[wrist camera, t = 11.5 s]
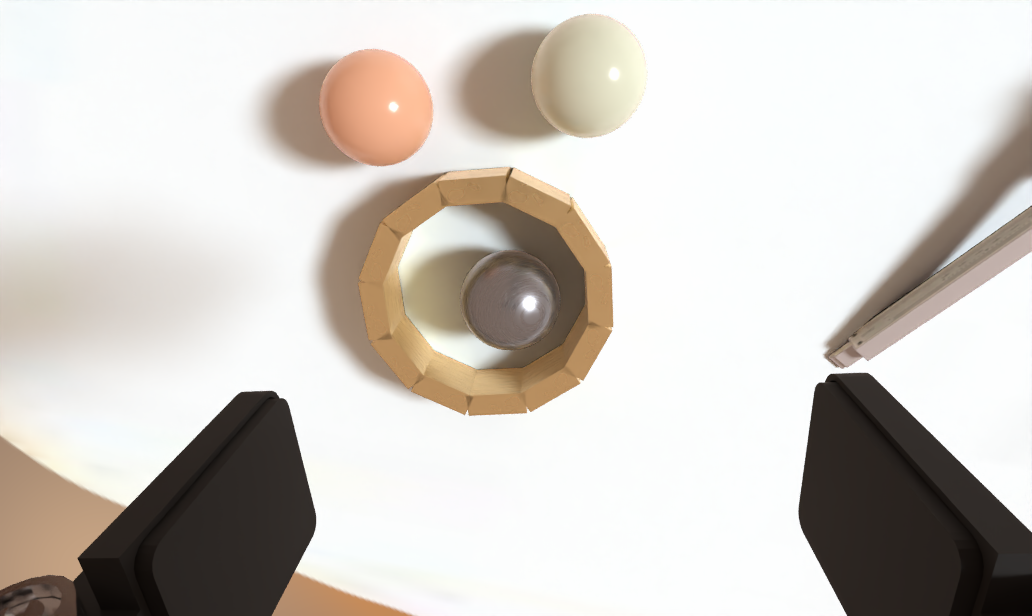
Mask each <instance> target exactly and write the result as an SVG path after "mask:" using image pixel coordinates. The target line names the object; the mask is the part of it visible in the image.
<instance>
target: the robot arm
mask: <svg viewBox="0 0 1032 616" xmlns="http://www.w3.org/2000/svg"><path fill="white" fill-rule="evenodd" d="M799 521H800V525H801V528H802V531H803V533H804V535H805V537H806V539H807V541H808V542H809V544H810V546H811V548H812V550H813V552H814V554H815V556H816V558H817V559H818V561H819V563H820V565H821V567H822V569H823V571H824V573H825V575H826V577H827V578H828V580H829V582H830V584H831V586H832V588H833V590H834V592H835V594H836V595H837V597H838V599H839V601H840V603H841V605H842V607H843V609H844V611H845V612H846V614H847V616H1032V532H1031V531H1030V530H1029V529H1028V528H1027V527H1026V526H1025V525H1023V524H1022V523H1021V522H1020V521H1019V520H1018V519H1017V518H1016V517H1015V516H1014V515H1013V514H1012V513H1011V512H1010V511H1009V510H1008V509H1007V508H1006V507H1005V506H1004V505H1003V504H1002V503H1001V502H1000V501H999V500H998V499H997V498H996V497H995V496H994V495H993V494H992V493H991V492H990V491H989V490H988V489H987V488H986V487H985V486H984V485H983V484H982V483H981V482H980V481H979V480H978V479H977V478H976V477H975V476H974V475H973V474H971V473H970V472H969V471H968V470H967V469H966V468H965V467H964V466H963V465H962V464H961V463H960V462H959V461H958V460H957V459H956V458H955V457H954V456H953V455H952V454H951V453H950V452H949V451H948V450H947V449H946V448H945V447H944V446H943V445H942V444H941V443H940V442H939V441H938V440H937V439H936V438H935V437H934V436H933V435H932V434H931V433H930V432H929V431H928V430H927V429H926V428H925V427H924V426H923V425H922V424H920V423H919V422H918V421H917V420H916V419H915V418H914V417H913V416H912V415H911V414H910V413H909V412H908V411H907V410H906V409H905V408H904V407H903V406H902V405H901V404H900V403H899V402H898V401H897V400H896V399H895V398H894V397H893V396H892V395H891V394H890V393H889V392H888V391H887V390H886V389H885V388H884V387H883V386H882V385H881V384H880V383H879V382H878V381H877V380H876V379H875V378H874V377H873V376H871V375H870V374H868V373H844V374H830V375H829V376H828V377H827V379H826V381H825V383H818V384H817V385H816V387H815V392H814V399H813V406H812V413H811V421H810V428H809V436H808V443H807V450H806V458H805V465H804V472H803V480H802V487H801V494H800V502H799ZM315 528H316V513H315V509H314V505H313V501H312V497H311V493H310V489H309V485H308V481H307V477H306V473H305V469H304V465H303V461H302V457H301V453H300V449H299V445H298V441H297V437H296V433H295V429H294V425H293V421H292V417H291V413H290V409H289V405H288V403H287V401H286V400H285V399H283V398H279V396H278V395H277V393H276V392H274V391H253V392H241V393H239V394H238V395H237V396H236V397H235V398H234V399H233V400H232V401H231V402H230V403H229V404H228V405H227V406H226V407H225V408H224V409H223V410H222V411H221V412H220V413H219V414H218V415H217V416H216V417H215V418H214V419H213V420H212V421H211V422H210V423H209V424H208V425H207V426H206V427H205V428H204V429H203V430H202V431H201V432H200V433H199V434H198V435H197V436H196V437H195V439H194V440H193V441H192V442H191V443H190V444H189V445H188V446H187V447H186V448H185V449H184V450H183V451H182V452H181V453H180V454H179V455H178V456H177V457H176V458H175V459H174V460H173V461H172V462H171V463H170V464H169V465H168V466H167V467H166V468H165V469H164V470H163V471H162V472H161V473H160V474H159V475H158V476H157V477H156V478H155V479H154V480H153V481H152V482H151V484H150V485H149V486H148V487H147V488H146V489H145V490H144V491H143V492H142V493H141V494H140V495H139V496H138V497H137V498H136V499H135V500H134V501H133V502H132V503H131V504H130V505H129V506H128V507H127V508H126V509H125V510H124V511H123V512H122V513H121V514H120V515H119V516H118V517H117V519H115V520H114V521H113V523H111V525H110V526H108V528H107V529H106V530H105V531H104V532H103V533H102V534H101V535H100V536H99V537H98V538H97V539H96V540H95V541H94V542H93V543H92V544H91V545H90V546H89V547H88V548H87V549H86V550H85V551H84V552H83V553H82V554H81V555H80V556H79V557H78V560H79V562H80V565H81V567H82V569H83V572H82V573H81V574H80V575H79V576H78V577H77V578H76V579H75V580H74V581H73V582H72V581H71V580H69V579H67V578H66V577H64V576H55V575H47V576H41V577H35V578H30V579H27V580H24V581H21V582H19V583H16V584H13V585H10V586H8V587H6V588H4V589H2V590H0V616H272V614H273V612H274V610H275V608H276V606H277V604H278V602H279V600H280V598H281V596H282V594H283V593H284V590H285V589H286V587H287V585H288V583H289V581H290V579H291V577H292V575H293V573H294V571H295V570H296V568H297V566H298V564H299V562H300V560H301V558H302V556H303V554H304V552H305V550H306V548H307V547H308V545H309V543H310V541H311V539H312V537H313V535H314V532H315Z"/></svg>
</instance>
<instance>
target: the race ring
mask: <svg viewBox="0 0 1032 616" xmlns="http://www.w3.org/2000/svg"><path fill="white" fill-rule="evenodd" d="M497 202H504V203H506V204H508V205H510V206H512V207H515V208H517V209H519V210H521V211H523V212H525V213H527V214H529V215H531V216H533V217H535V218H538V219H540V220H542V221H544V222H546V223H548V224H550V225H552V226H554V227H556V229H557V230H558V232H559V233H560V235H561V236H562V238H563V239H564V241H565V242H566V244H567V245H568V247H569V248H570V249H571V251H572V252H573V254H574V255H575V257H576V258H577V260H578V261H579V263H580V264H581V266H582V267H583V269H584V282H585V305H584V307H583V309H582V311H581V312H580V314H579V316H578V318H577V320H576V321H575V323H574V325H573V327H572V329H571V331H570V332H569V334H568V336H567V338H566V340H565V341H564V343H563V344H562V345H560V346H559V347H557V348H555V349H554V350H552V351H550V352H549V353H547V354H545V355H544V356H542V357H540V358H539V359H537V360H535V361H534V362H532V363H530V364H529V365H527V366H525V367H523V368H503V369H483V370H476V369H474V368H472V367H470V366H467V365H465V364H463V363H461V362H458V361H456V360H454V359H452V358H449V357H447V356H445V355H443V354H441V353H438V352H436V351H434V350H433V349H432V347H431V346H430V345H429V344H428V342H427V341H426V340H425V339H424V337H423V336H422V335H421V334H420V332H419V331H418V330H417V329H416V327H415V326H414V325H413V324H412V322H411V321H410V320H409V319H408V317H407V316H406V315H405V311H404V305H403V299H402V293H401V287H400V280H399V274H398V265H399V263H400V261H401V258H402V256H403V253H404V251H405V248H406V246H407V244H408V241H409V239H410V236H411V234H412V231H413V229H415V228H416V227H418V226H419V225H420V224H422V223H423V222H425V221H426V220H428V219H429V218H430V217H432V216H433V215H435V214H436V213H437V212H439V211H440V210H442V209H443V208H444V207H446V206H457V205H470V204H484V203H497ZM359 279H360V280H361V281H360V282H359V283H358V286H359V291H360V296H361V302H362V307H363V312H364V318H365V323H366V328H367V334H368V339H369V340H373V341H372V343H371V345H372V346H373V348H374V349H375V350H376V351H377V352H378V354H379V355H380V356H381V357H382V359H383V360H384V361H385V362H386V363H387V365H388V366H389V367H390V368H391V369H392V371H393V372H394V373H395V374H396V375H397V377H398V378H399V379H400V380H401V381H402V383H403V384H404V385H405V386H406V387H407V389H409V388H410V387H412V386H413V389H412V391H411V392H413V393H416V394H418V395H420V396H423V397H425V398H427V399H430V400H432V401H434V402H436V403H439V404H441V405H443V406H446V407H448V408H450V409H452V410H455V411H457V412H459V413H462V414H464V415H465V414H466V412H467V410H468V413H469V416H472V415H495V414H518V413H527V408H528V409H529V411H530V412H532V411H533V410H535V409H537V408H538V407H540V406H542V405H544V404H545V403H547V402H549V401H551V400H552V399H554V398H556V397H558V396H559V395H561V394H563V393H565V392H566V391H568V390H570V389H572V388H573V387H575V386H577V385H579V384H580V379H581V380H584V378H585V377H586V375H587V373H588V372H589V370H590V368H591V366H592V365H593V363H594V361H595V360H596V358H597V356H598V354H599V353H600V351H601V349H602V348H603V346H604V344H605V342H606V341H607V339H608V337H609V335H610V334H611V332H612V328H611V327H613V304H612V270H611V264H610V261H609V258H608V255H607V251H606V248H605V246H604V244H603V243H602V241H601V240H600V238H599V237H598V235H597V234H596V232H595V231H594V229H593V228H592V226H591V225H590V223H589V222H588V220H587V219H586V217H585V216H584V214H583V212H582V211H581V209H580V208H579V206H578V205H577V203H576V202H575V200H574V199H573V197H572V198H571V199H570V196H569V194H567V193H565V192H563V191H561V190H559V189H557V188H555V187H553V186H551V185H549V184H547V183H545V182H542V181H540V180H538V179H536V178H534V177H532V176H530V175H528V174H526V173H524V172H522V171H520V170H518V169H516V168H514V169H513V171H512V173H511V174H510V167H502V168H490V169H477V170H465V171H452V172H448V173H447V174H443V175H442V176H441V177H439V178H438V179H437V180H435V181H434V182H432V183H431V184H430V185H428V186H427V187H426V188H424V189H423V190H421V191H420V192H419V193H417V194H416V195H415V196H413V197H412V198H410V199H409V200H408V201H406V202H405V203H404V204H402V205H401V206H399V207H398V208H397V209H396V210H394V211H393V212H392V213H390V214H389V215H388V216H387V217H385V218H384V219H383V221H382V222H381V223H380V224H379V227H378V230H377V232H376V235H375V237H374V240H373V242H372V245H371V248H370V250H369V253H368V255H367V258H366V260H365V263H364V266H363V268H362V271H361V273H360V276H359Z"/></svg>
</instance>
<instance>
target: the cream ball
mask: <svg viewBox="0 0 1032 616" xmlns="http://www.w3.org/2000/svg"><path fill="white" fill-rule="evenodd" d="M646 84H647V63H646V58H645V54H644V51H643V48H642V46H641V44H640V42H639V41H638V39H637V38H636V36H635V35H634V34H633V33H632V31H631V30H630V29H629V28H627V27H626V26H625V25H624V24H622V23H621V22H619V21H618V20H616V19H613V18H611V17H608V16H605V15H599V14H584V15H579V16H575V17H572V18H570V19H568V20H566V21H564V22H562V23H561V24H559V25H558V26H556V27H555V28H554V29H553V30H552V31H551V32H550V33H549V34H548V35H547V36H546V37H545V39H544V40H543V41H542V43H541V44H540V46H539V48H538V50H537V52H536V55H535V58H534V61H533V65H532V72H531V86H532V92H533V96H534V100H535V102H536V105H537V107H538V109H539V110H540V112H541V114H542V115H543V116H544V118H545V119H546V120H547V121H548V122H549V123H550V124H551V125H552V126H554V127H555V128H556V129H558V130H560V131H561V132H563V133H566V134H568V135H571V136H575V137H581V138H593V137H599V136H603V135H606V134H608V133H611V132H613V131H614V130H616V129H618V128H619V127H621V126H622V125H623V124H624V123H626V122H627V121H628V120H629V119H630V118H631V116H632V115H633V114H634V113H635V111H636V110H637V108H638V106H639V105H640V103H641V100H642V98H643V96H644V92H645V89H646Z"/></svg>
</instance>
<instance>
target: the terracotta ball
mask: <svg viewBox="0 0 1032 616" xmlns="http://www.w3.org/2000/svg"><path fill="white" fill-rule="evenodd" d="M319 110H320V116H321V120H322V123H323V126H324V129H325V131H326V133H327V134H328V136H329V138H330V139H331V141H332V142H333V143H334V144H335V145H336V147H337V148H338V149H339V150H341V151H342V152H343V153H344V154H345V155H347V156H348V157H350V158H352V159H353V160H355V161H358V162H360V163H363V164H367V165H371V166H389V165H394V164H397V163H400V162H402V161H405V160H407V159H408V158H410V157H411V156H412V155H414V154H415V153H416V152H417V151H418V150H419V149H420V148H421V147H422V145H423V144H424V142H425V141H426V139H427V137H428V135H429V133H430V130H431V126H432V121H433V103H432V98H431V94H430V91H429V88H428V86H427V84H426V82H425V80H424V79H423V77H422V75H421V74H420V73H419V72H418V70H417V69H416V68H415V67H414V66H413V65H412V64H411V63H409V62H408V61H407V60H405V59H404V58H402V57H400V56H398V55H396V54H394V53H392V52H389V51H385V50H379V49H365V50H359V51H356V52H353V53H350V54H348V55H346V56H345V57H343V58H342V59H340V60H339V61H338V62H337V63H336V64H335V65H334V66H333V67H332V68H331V69H330V70H329V72H328V73H327V75H326V77H325V79H324V81H323V84H322V87H321V91H320V97H319Z"/></svg>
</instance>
